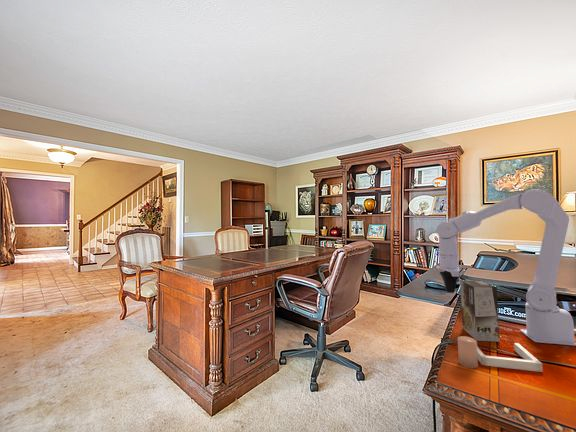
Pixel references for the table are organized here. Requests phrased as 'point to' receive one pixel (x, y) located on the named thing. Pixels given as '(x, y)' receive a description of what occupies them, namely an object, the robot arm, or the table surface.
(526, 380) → the table surface
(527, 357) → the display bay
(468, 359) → the beige block
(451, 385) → the table surface
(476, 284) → the coffee box
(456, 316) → the table surface
